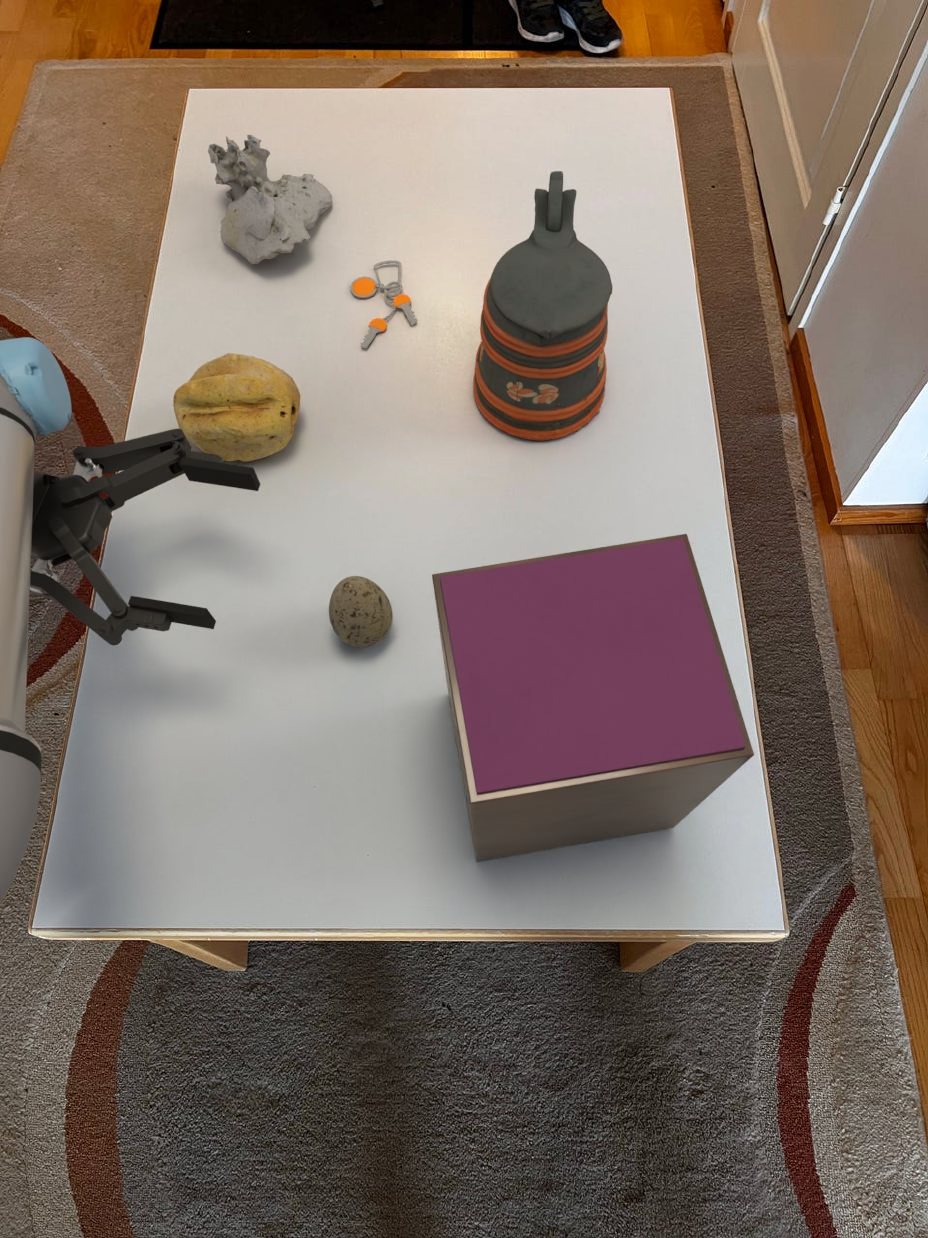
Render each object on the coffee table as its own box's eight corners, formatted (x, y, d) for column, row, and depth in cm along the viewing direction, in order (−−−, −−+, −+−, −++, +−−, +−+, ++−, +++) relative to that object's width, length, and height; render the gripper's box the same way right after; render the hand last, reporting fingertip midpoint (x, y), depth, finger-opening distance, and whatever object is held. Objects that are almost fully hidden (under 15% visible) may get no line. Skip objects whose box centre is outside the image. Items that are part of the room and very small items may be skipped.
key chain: (348, 268, 105) (347, 262, 105) (408, 260, 106) (407, 255, 105) (357, 351, 100) (356, 345, 99) (420, 342, 100) (420, 337, 100)
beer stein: (474, 308, 103) (470, 158, 84) (599, 306, 102) (623, 156, 84) (472, 442, 95) (468, 310, 77) (607, 442, 95) (635, 309, 76)
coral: (240, 197, 114) (210, 120, 106) (340, 188, 112) (317, 108, 103) (209, 280, 105) (173, 203, 97) (316, 271, 103) (289, 191, 94)
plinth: (476, 862, 77) (470, 803, 54) (448, 693, 84) (431, 573, 60) (673, 828, 78) (754, 755, 54) (631, 663, 84) (687, 533, 61)
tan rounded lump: (184, 468, 95) (151, 412, 86) (200, 392, 99) (170, 330, 90) (300, 471, 94) (280, 415, 85) (311, 394, 98) (293, 332, 89)
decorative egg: (362, 669, 85) (346, 630, 76) (324, 628, 87) (304, 584, 78) (408, 631, 86) (398, 588, 77) (370, 591, 88) (356, 544, 79)
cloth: (476, 794, 54) (476, 793, 53) (440, 579, 60) (439, 576, 59) (744, 748, 54) (746, 747, 54) (681, 540, 60) (683, 537, 60)
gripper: (71, 419, 85) (281, 450, 83) (-32, 656, 75) (203, 697, 73) (34, 368, 78) (262, 401, 76) (-84, 622, 68) (173, 667, 66)
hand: (234, 546), depth 74 cm, fingers open, 13 cm apart
